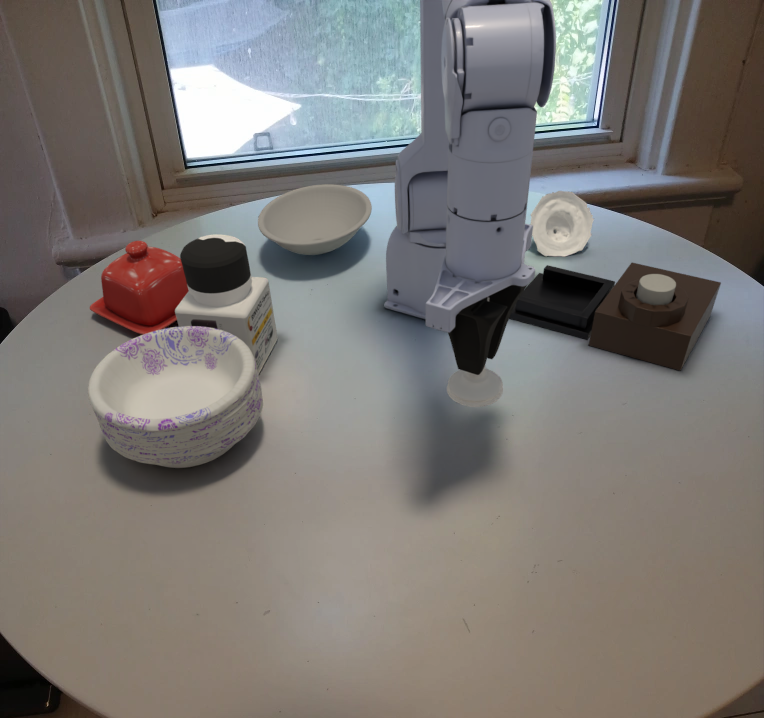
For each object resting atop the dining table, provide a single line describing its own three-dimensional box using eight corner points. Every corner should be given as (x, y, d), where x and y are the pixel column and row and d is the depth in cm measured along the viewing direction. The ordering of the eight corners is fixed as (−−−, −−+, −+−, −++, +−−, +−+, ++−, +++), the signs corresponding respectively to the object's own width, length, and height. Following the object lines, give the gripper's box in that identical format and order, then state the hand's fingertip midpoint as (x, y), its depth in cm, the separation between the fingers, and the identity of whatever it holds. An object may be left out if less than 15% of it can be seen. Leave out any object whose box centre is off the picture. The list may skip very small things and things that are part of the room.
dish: (291, 215, 105) (287, 180, 102) (387, 224, 102) (386, 188, 99) (243, 275, 94) (236, 238, 90) (350, 287, 91) (347, 249, 87)
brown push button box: (587, 346, 80) (597, 297, 76) (624, 295, 87) (634, 247, 83) (679, 372, 76) (695, 321, 72) (710, 316, 83) (726, 267, 79)
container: (257, 379, 78) (235, 265, 69) (190, 372, 79) (159, 260, 70) (279, 338, 83) (261, 228, 74) (215, 333, 85) (189, 224, 75)
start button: (631, 301, 75) (634, 286, 74) (642, 285, 78) (645, 270, 76) (666, 310, 74) (670, 294, 73) (676, 293, 76) (680, 278, 75)
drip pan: (504, 317, 85) (506, 299, 83) (538, 278, 90) (540, 261, 89) (587, 339, 81) (590, 321, 79) (617, 297, 87) (621, 280, 85)
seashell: (560, 267, 100) (599, 215, 97) (566, 272, 95) (607, 217, 92) (513, 232, 98) (551, 178, 95) (517, 235, 93) (557, 178, 90)
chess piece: (465, 414, 62) (471, 309, 55) (436, 383, 65) (438, 281, 58) (514, 395, 63) (526, 291, 56) (483, 367, 67) (490, 264, 59)
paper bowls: (127, 510, 65) (98, 443, 59) (101, 414, 75) (75, 348, 69) (288, 460, 69) (276, 392, 63) (244, 374, 79) (230, 309, 73)
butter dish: (149, 346, 83) (128, 278, 77) (87, 316, 88) (62, 250, 82) (222, 302, 89) (207, 235, 83) (160, 276, 94) (142, 211, 88)
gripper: (493, 260, 47) (481, 424, 56) (577, 176, 55) (553, 332, 65) (398, 237, 49) (402, 397, 59) (492, 160, 58) (481, 312, 67)
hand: (476, 362), depth 62 cm, fingers closed on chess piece
